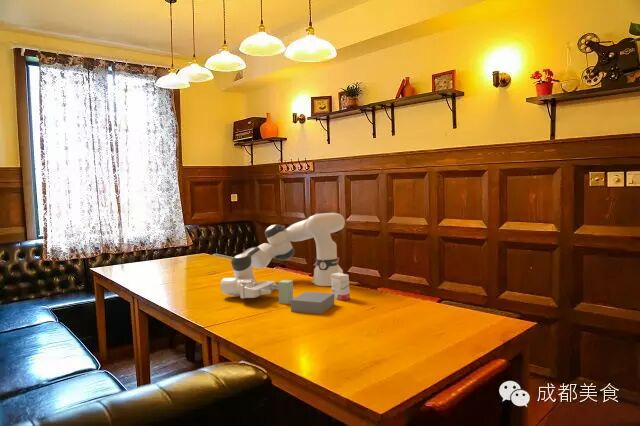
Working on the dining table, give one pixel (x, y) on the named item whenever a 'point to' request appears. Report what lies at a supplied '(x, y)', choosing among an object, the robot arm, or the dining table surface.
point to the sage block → (285, 291)
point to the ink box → (340, 286)
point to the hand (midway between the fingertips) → (275, 289)
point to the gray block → (312, 302)
